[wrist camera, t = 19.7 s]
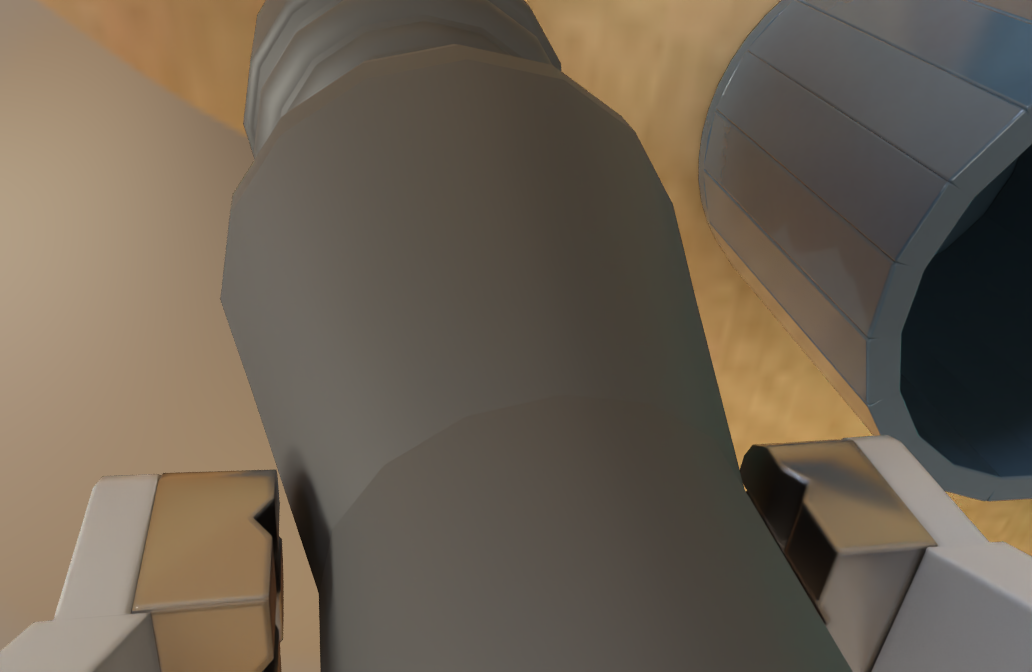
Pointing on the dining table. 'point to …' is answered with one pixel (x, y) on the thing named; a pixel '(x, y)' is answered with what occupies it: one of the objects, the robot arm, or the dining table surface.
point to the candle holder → (488, 361)
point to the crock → (892, 216)
